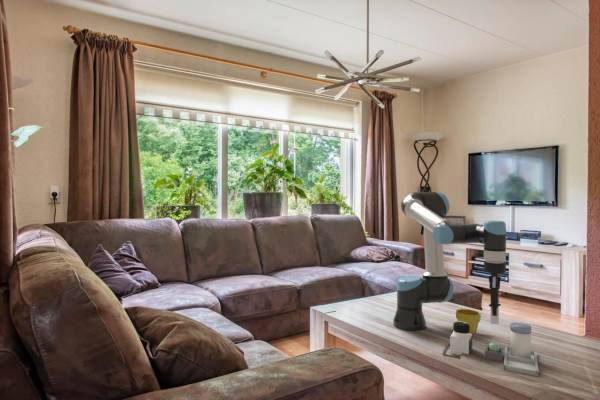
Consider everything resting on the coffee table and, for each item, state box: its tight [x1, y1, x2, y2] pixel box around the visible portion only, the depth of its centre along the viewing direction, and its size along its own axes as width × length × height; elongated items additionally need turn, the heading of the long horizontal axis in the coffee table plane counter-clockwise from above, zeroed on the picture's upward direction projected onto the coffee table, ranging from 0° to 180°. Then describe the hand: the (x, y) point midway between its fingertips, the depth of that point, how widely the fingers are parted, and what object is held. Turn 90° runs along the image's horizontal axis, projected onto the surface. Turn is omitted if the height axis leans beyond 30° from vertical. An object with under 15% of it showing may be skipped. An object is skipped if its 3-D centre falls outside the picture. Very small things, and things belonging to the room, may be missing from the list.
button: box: [488, 342, 501, 352], centre depth 149 cm, size 4×4×3 cm
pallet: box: [484, 345, 540, 377], centre depth 146 cm, size 18×22×4 cm
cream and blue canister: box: [509, 322, 532, 359], centre depth 149 cm, size 7×7×12 cm
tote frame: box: [442, 343, 461, 359], centre depth 157 cm, size 13×13×1 cm
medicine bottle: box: [449, 320, 473, 357], centre depth 157 cm, size 7×7×12 cm
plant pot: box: [455, 308, 482, 334], centre depth 179 cm, size 10×10×10 cm
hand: (494, 323), depth 149 cm, fingers closed
